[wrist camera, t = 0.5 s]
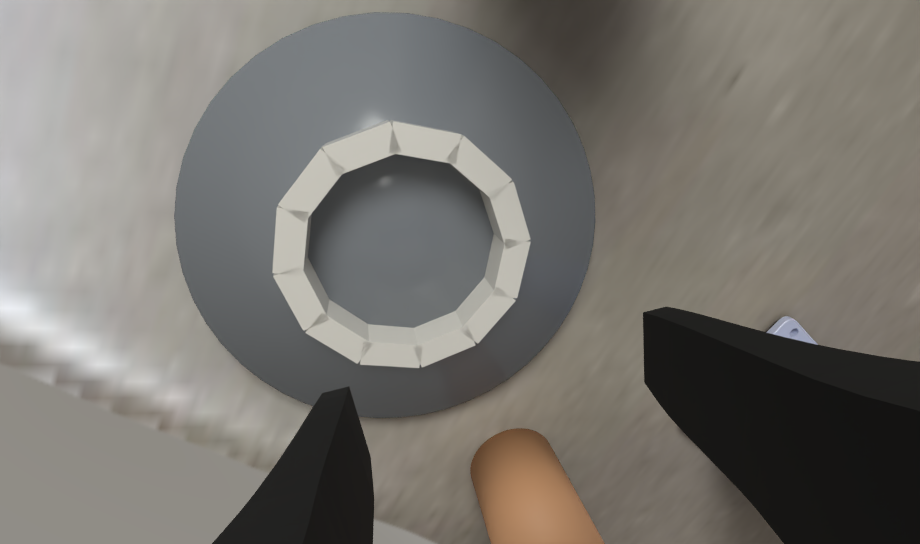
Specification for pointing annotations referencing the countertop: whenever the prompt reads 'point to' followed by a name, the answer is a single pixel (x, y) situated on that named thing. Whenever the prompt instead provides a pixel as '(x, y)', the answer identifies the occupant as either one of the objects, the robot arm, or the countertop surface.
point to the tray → (385, 213)
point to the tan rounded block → (528, 493)
